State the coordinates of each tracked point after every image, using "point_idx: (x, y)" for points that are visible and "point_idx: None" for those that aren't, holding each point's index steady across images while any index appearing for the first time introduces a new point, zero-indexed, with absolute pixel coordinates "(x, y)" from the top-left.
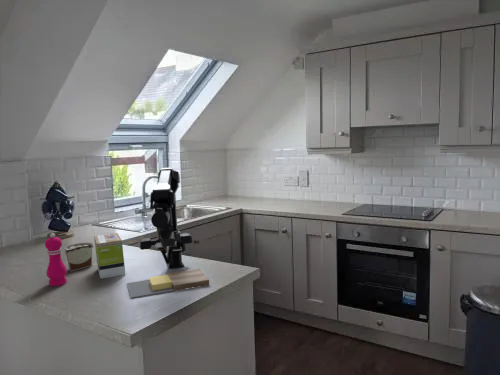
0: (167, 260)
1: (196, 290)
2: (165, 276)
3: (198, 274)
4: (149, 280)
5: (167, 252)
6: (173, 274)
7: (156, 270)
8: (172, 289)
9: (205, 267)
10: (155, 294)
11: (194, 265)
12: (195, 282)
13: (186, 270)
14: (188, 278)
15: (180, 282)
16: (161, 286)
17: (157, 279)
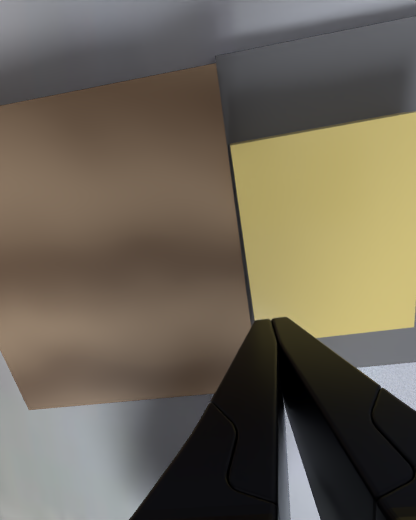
0: (277, 344)
1: (23, 19)
2: (276, 309)
3: (14, 290)
4: (410, 285)
5: (286, 513)
6: (210, 353)
7: (307, 499)
8: (228, 80)
9: (25, 457)
10: (383, 23)
11: (93, 501)
12: (13, 104)
13: (117, 399)
14: (85, 222)
15: (150, 137)
16: (325, 127)
17: (350, 259)
